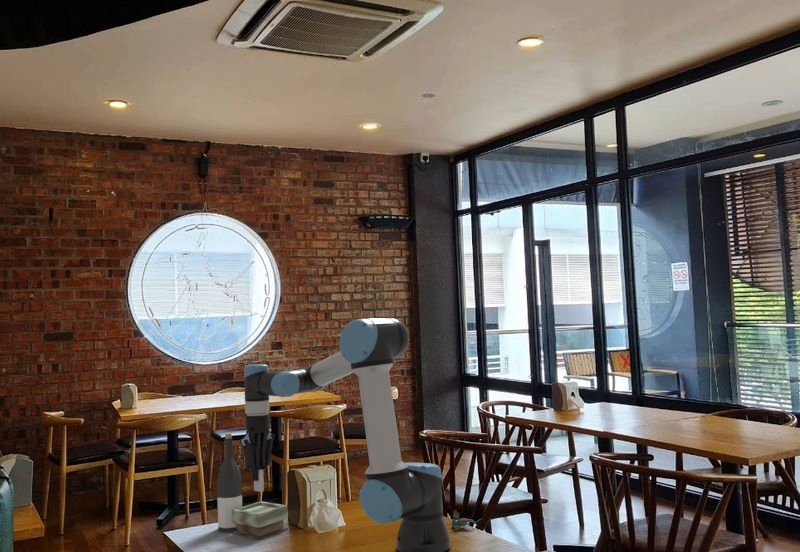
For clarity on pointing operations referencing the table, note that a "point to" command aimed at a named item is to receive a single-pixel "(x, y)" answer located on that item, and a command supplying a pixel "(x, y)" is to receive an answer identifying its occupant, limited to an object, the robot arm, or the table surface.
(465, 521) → the dragon figurine
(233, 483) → the wine bottle
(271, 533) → the two-tone layered tray
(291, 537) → the table surface
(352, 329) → the robot arm
